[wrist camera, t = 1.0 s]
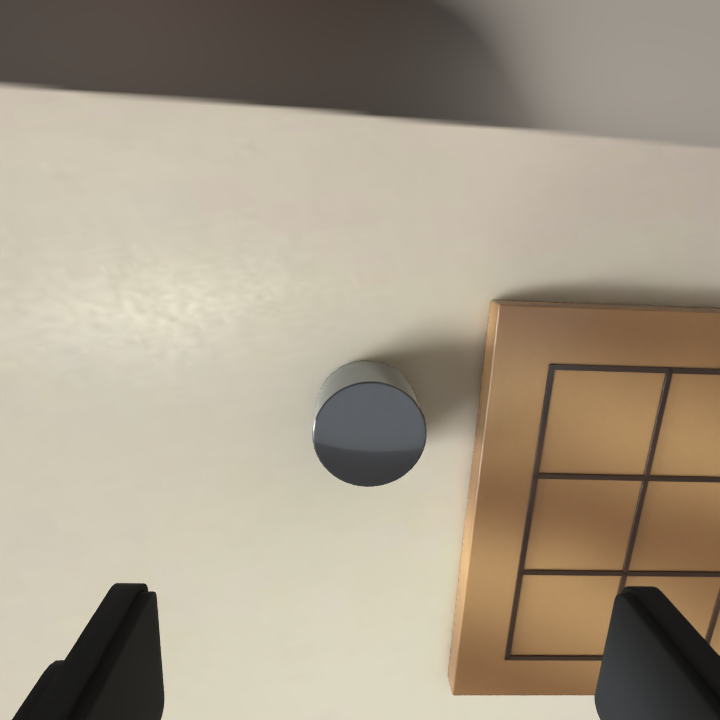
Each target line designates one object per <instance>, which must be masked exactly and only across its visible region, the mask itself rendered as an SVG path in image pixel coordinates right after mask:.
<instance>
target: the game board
mask: <svg viewBox="0 0 720 720" xmlns="http://www.w3.org/2000/svg"><path fill="white" fill-rule="evenodd" d="M627 586H654V587H657V588H658V589H659V590H661V591H662V592H663V593H664V595H665V596H666V597H667V598H668V599H669V600H670V601H671V602H672V603H673V605H674V606H675V607H676V608H677V609H678V610H679V611H680V612H681V613H682V615H683V616H684V617H685V618H686V619H687V620H688V621H689V622H690V624H691V625H692V626H693V627H694V628H695V629H696V630H697V631H698V632H699V634H700V635H701V636H702V637H703V638H704V639H705V640H706V641H707V642H708V644H709V645H710V646H711V647H712V648H713V649H714V650H715V651H716V652H717V654H718V655H719V656H720V308H693V307H666V306H640V305H613V304H586V303H559V302H532V301H505V300H492V301H491V303H490V312H489V321H488V329H487V338H486V347H485V355H484V364H483V373H482V382H481V390H480V399H479V408H478V416H477V425H476V434H475V443H474V451H473V460H472V469H471V477H470V486H469V495H468V503H467V512H466V521H465V530H464V538H463V547H462V556H461V564H460V573H459V582H458V591H457V599H456V608H455V617H454V625H453V634H452V643H451V652H450V660H449V669H448V678H449V683H450V687H451V691H452V694H453V695H595V691H596V686H597V681H598V677H599V672H600V667H601V662H602V657H603V653H604V648H605V643H606V638H607V633H608V629H609V624H610V619H611V614H612V609H613V605H614V600H615V597H616V595H617V594H621V593H622V590H623V589H624V588H625V587H627Z"/></svg>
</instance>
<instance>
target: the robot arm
mask: <svg viewBox="0 0 720 720" xmlns="http://www.w3.org/2000/svg"><path fill="white" fill-rule="evenodd" d="M595 705H596V709H597V713H598V715H599V717H600V719H601V720H720V656H719V655H718V654H717V652H716V651H715V650H714V649H713V648H712V647H711V646H710V645H709V644H708V642H707V641H706V640H705V639H704V638H703V637H702V636H701V635H700V634H699V632H698V631H697V630H696V629H695V628H694V627H693V626H692V625H691V624H690V622H689V621H688V620H687V619H686V618H685V617H684V616H683V615H682V613H681V612H680V611H679V610H678V609H677V608H676V607H675V606H674V605H673V603H672V602H671V601H670V600H669V599H668V598H667V597H666V596H665V595H664V593H663V592H662V591H661V590H659V589H658V588H657V587H654V586H627V587H625V588H624V589H623V590H622V593H621V594H617V595H616V597H615V600H614V605H613V609H612V614H611V619H610V624H609V629H608V633H607V638H606V643H605V648H604V653H603V657H602V662H601V667H600V672H599V677H598V681H597V686H596V691H595ZM163 708H164V686H163V673H162V660H161V647H160V634H159V621H158V608H157V596H156V593H155V592H148V587H147V585H146V584H140V583H116V584H114V585H113V586H112V587H111V588H110V590H109V591H108V593H107V595H106V596H105V598H104V599H103V601H102V602H101V604H100V605H99V607H98V609H97V610H96V612H95V613H94V615H93V616H92V618H91V620H90V621H89V623H88V624H87V626H86V627H85V629H84V631H83V632H82V634H81V635H80V637H79V638H78V640H77V642H76V643H75V645H74V646H73V648H72V649H71V651H70V652H69V654H68V656H67V657H66V659H65V660H59V661H55V662H53V663H52V664H51V665H49V667H48V668H47V669H46V670H45V671H44V673H43V674H42V676H41V677H40V679H39V680H38V682H37V683H36V685H35V686H34V688H33V689H32V691H31V692H30V694H29V695H28V697H27V698H26V700H25V701H24V702H23V704H22V705H21V707H20V708H19V710H18V711H17V713H16V714H15V716H14V717H13V719H12V720H161V717H162V713H163Z"/></svg>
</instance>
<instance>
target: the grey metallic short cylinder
mask: <svg viewBox="0 0 720 720" xmlns="http://www.w3.org/2000/svg"><path fill="white" fill-rule="evenodd" d="M426 431H427V430H426V423H425V419H424V416H423V413H422V411H421V409H420V406H419V404H418V402H417V399H416V397H415V395H414V392H413V390H412V388H411V386H410V384H409V382H408V381H407V379H406V378H405V377H404V376H403V375H402V374H401V373H400V372H399V371H397V370H396V369H395V368H393V367H391V366H389V365H387V364H384V363H381V362H377V361H357V362H353V363H349V364H347V365H345V366H342V367H341V368H339V369H337V370H336V371H335V372H333V373H332V374H331V375H330V376H329V377H328V378H327V380H326V381H325V382H324V384H323V385H322V387H321V389H320V392H319V394H318V398H317V403H316V410H315V417H314V424H313V444H314V449H315V451H316V454H317V456H318V458H319V460H320V462H321V463H322V464H323V466H324V467H325V468H326V469H327V470H328V471H329V472H330V473H331V474H333V475H334V476H335V477H337V478H338V479H340V480H342V481H344V482H346V483H349V484H353V485H357V486H366V487H371V486H380V485H384V484H388V483H390V482H393V481H395V480H397V479H399V478H401V477H402V476H403V475H405V474H406V473H407V472H408V471H410V470H411V469H412V468H413V466H414V465H415V464H416V463H417V461H418V460H419V458H420V456H421V454H422V452H423V450H424V446H425V443H426Z"/></svg>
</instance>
